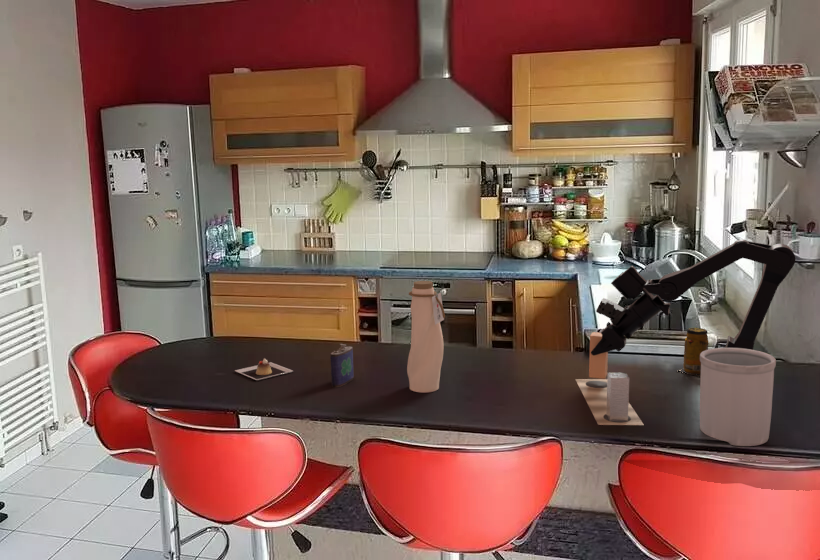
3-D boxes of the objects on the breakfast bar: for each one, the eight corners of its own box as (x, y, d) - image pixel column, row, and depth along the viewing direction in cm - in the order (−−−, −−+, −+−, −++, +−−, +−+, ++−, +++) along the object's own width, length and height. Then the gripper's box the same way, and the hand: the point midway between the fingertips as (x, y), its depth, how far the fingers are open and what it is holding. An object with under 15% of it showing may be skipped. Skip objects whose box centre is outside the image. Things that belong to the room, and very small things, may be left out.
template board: (644, 428, 165) (644, 424, 165) (598, 428, 165) (598, 424, 165) (613, 382, 197) (613, 379, 197) (575, 382, 198) (575, 379, 198)
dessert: (234, 374, 211) (233, 357, 210) (271, 365, 219) (270, 350, 218) (256, 383, 202) (255, 366, 201) (293, 374, 210) (293, 358, 209)
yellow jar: (690, 366, 210) (692, 325, 208) (719, 373, 204) (721, 330, 202) (676, 371, 206) (678, 329, 204) (705, 378, 199) (707, 335, 197)
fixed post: (627, 420, 167) (629, 378, 165) (609, 420, 167) (611, 377, 166) (623, 414, 171) (625, 372, 169) (606, 414, 171) (607, 372, 170)
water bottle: (449, 384, 198) (449, 280, 193) (442, 394, 189) (441, 286, 184) (412, 381, 200) (411, 278, 195) (403, 391, 192) (401, 284, 187)
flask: (348, 377, 205) (346, 339, 203) (357, 378, 204) (356, 340, 202) (329, 386, 197) (327, 347, 195) (338, 388, 196) (337, 348, 194)
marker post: (607, 374, 194) (608, 333, 192) (604, 378, 190) (606, 336, 188) (591, 372, 195) (592, 332, 193) (589, 377, 191) (590, 335, 190)
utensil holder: (683, 435, 161) (687, 356, 158) (713, 417, 171) (717, 343, 168) (753, 454, 150) (759, 370, 147) (781, 433, 161) (787, 355, 158)
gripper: (621, 282, 196) (578, 320, 202) (611, 296, 179) (564, 337, 185) (651, 314, 194) (607, 351, 200) (644, 330, 177) (596, 370, 183)
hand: (593, 351), depth 192 cm, fingers closed on marker post, 4 cm apart
